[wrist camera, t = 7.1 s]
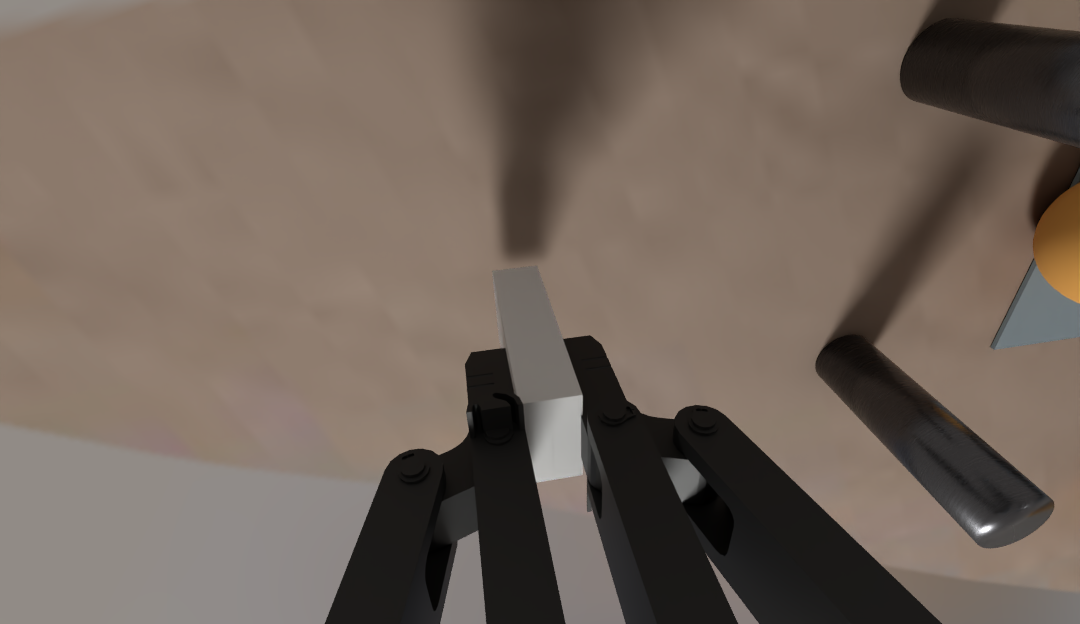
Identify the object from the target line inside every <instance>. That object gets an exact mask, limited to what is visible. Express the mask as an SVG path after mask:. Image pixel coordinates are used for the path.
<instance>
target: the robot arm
mask: <svg viewBox="0 0 1080 624" xmlns="http://www.w3.org/2000/svg"><path fill="white" fill-rule="evenodd" d="M492 275H493V285H494V295H495V304H496V314H497V324H498V334H499V341H500V347H501V349H493V350H486V351H478V352H471V354H470V356H469V358H468V360H467V362H466V363H465V369H466V381H467V393H468V406H467V411H466V414H467V421H468V427H469V433H468V435H467V437H466V438H465V439H464V441H463V442H462V443H461V444H459V445H458V446H457V447H455V448H453V449H452V450H450V451H448V452H445V453H443V454H441V455H437V454H436V453H434V452H433V451H431V450H426V449H414V450H409V451H406V452H404V453H402V454H399V455H398V456H397V457H395V458H394V459H393V460H392V461H390V463H389V465H388V466H387V468H386V469H385V471H384V474H383V476H382V479H381V481H380V484H379V487H378V489H377V492H376V494H375V497H374V499H373V502H372V504H371V507H370V510H369V512H368V515H367V517H366V520H365V522H364V525H363V527H362V530H361V533H360V535H359V538H358V541H357V543H356V546H355V548H354V550H353V553H352V556H351V558H350V561H349V563H348V566H347V569H346V571H345V574H344V576H343V579H342V581H341V584H340V587H339V589H338V591H337V594H336V597H335V599H334V602H333V604H332V607H331V609H330V612H329V615H328V617H327V620H326V622H325V624H440V621H441V617H442V612H443V608H444V603H445V598H446V594H447V589H448V585H449V580H450V576H451V571H452V567H453V562H454V557H455V553H456V548H457V540H459V539H461V538H463V537H465V536H467V535H469V534H471V533H473V532H476V531H477V530H478V531H479V544H480V555H481V567H482V577H483V589H484V600H485V612H486V623H487V624H565V620H564V614H563V610H562V605H561V600H560V595H559V590H558V585H557V580H556V576H555V571H554V567H553V561H552V557H551V552H550V547H549V542H548V537H547V532H546V527H545V523H544V518H543V513H542V508H541V503H540V498H539V494H538V489H537V484H536V483H537V482H543V481H549V480H555V479H561V478H567V477H573V476H579V475H583V465H584V468H585V472H586V475H587V512H590V511H592V510H593V513H594V517H595V520H596V523H597V527H598V530H599V534H600V537H601V540H602V544H603V547H604V551H605V554H606V558H607V561H608V564H609V567H610V571H611V575H612V578H613V581H614V585H615V588H616V592H617V595H618V598H619V602H620V605H621V609H622V612H623V616H624V619H625V622H626V624H738V623H737V620H736V618H735V616H734V614H733V612H732V610H731V607H730V605H729V603H728V601H727V599H726V597H725V594H724V592H723V590H722V588H721V586H720V584H719V582H718V579H717V577H716V575H715V573H714V571H713V569H712V566H711V564H710V562H709V560H708V558H707V556H708V557H709V558H710V559H711V561H712V562H713V563H714V565H715V566H716V567H717V569H718V570H719V571H720V573H721V574H722V575H723V577H724V578H725V579H726V581H727V582H728V583H729V584H730V586H731V587H732V588H733V590H734V591H735V592H736V594H737V595H738V596H739V598H740V599H741V600H742V602H743V603H744V604H745V605H746V607H747V608H748V609H749V611H750V612H751V613H752V615H753V616H754V617H755V619H756V620H757V621H758V622H759V624H942V623H941V622H940V621H939V620H938V619H937V618H936V617H934V616H933V615H932V614H931V613H930V612H929V611H928V610H927V609H926V608H925V607H924V606H923V605H922V604H921V603H920V602H919V601H918V600H917V599H916V598H915V597H914V596H913V595H912V594H911V593H910V592H909V591H907V590H906V589H905V588H904V587H903V586H902V585H901V584H900V583H899V582H898V581H897V580H896V579H895V578H894V577H893V576H892V575H891V574H890V573H889V572H888V571H887V570H886V569H885V568H884V567H883V566H881V565H880V564H879V563H878V562H877V561H876V560H875V559H874V558H873V557H872V556H871V555H870V554H869V553H868V552H867V551H866V550H865V549H864V548H863V547H862V546H861V545H860V544H859V543H858V542H856V541H855V540H854V539H853V538H852V537H851V536H850V535H849V534H848V533H847V532H846V531H845V530H844V529H843V528H842V527H841V526H840V525H839V524H838V523H837V522H836V521H835V520H834V519H833V518H832V517H830V516H829V515H828V514H827V513H826V512H825V511H824V510H823V509H822V508H821V507H820V506H819V505H818V504H817V503H816V502H815V501H814V500H813V499H812V498H811V497H810V496H809V495H808V494H807V493H806V492H804V491H803V490H802V489H801V488H800V487H799V486H798V485H797V484H796V483H795V482H794V481H793V480H792V479H791V478H790V477H789V476H788V475H787V474H786V473H785V472H784V471H783V470H782V469H781V468H779V467H778V466H777V465H776V464H775V463H774V462H773V461H772V460H771V459H770V458H769V457H768V456H767V455H766V454H765V453H764V452H763V451H762V450H761V449H760V448H759V447H758V446H757V445H756V444H755V443H753V442H752V441H751V440H750V439H749V438H748V437H747V436H746V435H745V434H744V433H743V432H742V431H741V430H740V429H739V428H738V427H737V426H736V425H735V424H734V423H733V422H732V421H731V420H730V419H729V418H727V417H726V416H725V415H724V414H722V413H721V412H720V411H718V410H716V409H714V408H711V407H708V406H700V405H694V406H689V407H685V408H684V409H682V410H680V411H679V412H678V413H677V415H676V417H675V419H666V418H657V417H651V416H647V415H645V414H642V413H640V411H639V410H638V409H637V408H636V406H635V405H633V404H631V403H630V402H628V401H627V400H626V398H625V396H624V393H623V391H622V389H621V387H620V385H619V382H618V380H617V378H616V376H615V373H614V371H613V369H612V367H611V364H610V362H609V360H608V358H607V356H606V353H605V351H604V349H603V347H602V345H601V344H600V343H599V342H598V341H597V340H595V339H594V338H593V337H592V336H590V335H589V336H582V337H574V338H567V339H563V338H562V335H561V332H560V329H559V326H558V324H557V321H556V318H555V315H554V312H553V309H552V307H551V304H550V301H549V298H548V295H547V292H546V290H545V287H544V284H543V281H542V278H541V275H540V273H539V270H538V267H537V266H529V267H521V268H512V269H504V270H495V271H492ZM706 554H707V556H706Z"/></svg>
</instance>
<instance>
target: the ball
mask: <svg viewBox="0 0 1080 624" xmlns="http://www.w3.org/2000/svg"><path fill="white" fill-rule="evenodd" d="M1033 251H1034V258H1035V261H1036V264H1037V267H1038V269H1039V271H1040V272H1041V274H1042V276H1043V277H1044V278H1045V280H1046V281H1047V282H1048V283H1049V284H1050V285H1051V286H1052V287H1053V288H1054V289H1056V290H1057V291H1058V292H1059V293H1061V294H1062V295H1063V296H1065V297H1067V298H1069V299H1071V300H1073V301H1075V302H1077V303H1079V304H1080V182H1079V183H1078V184H1076V185H1074V186H1073V187H1071V188H1070V189H1068V190H1067V191H1065V192H1064V193H1063V194H1061V195H1060V196H1059V197H1058V198H1057V199H1056V200H1055V201H1054V202H1053V203H1052V204H1051V205H1050V206H1049V207H1048V208H1047V210H1046V211H1045V212H1044V214H1043V215H1042V217H1041V219H1040V221H1039V223H1038V225H1037V227H1036V231H1035V235H1034V239H1033Z"/></svg>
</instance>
